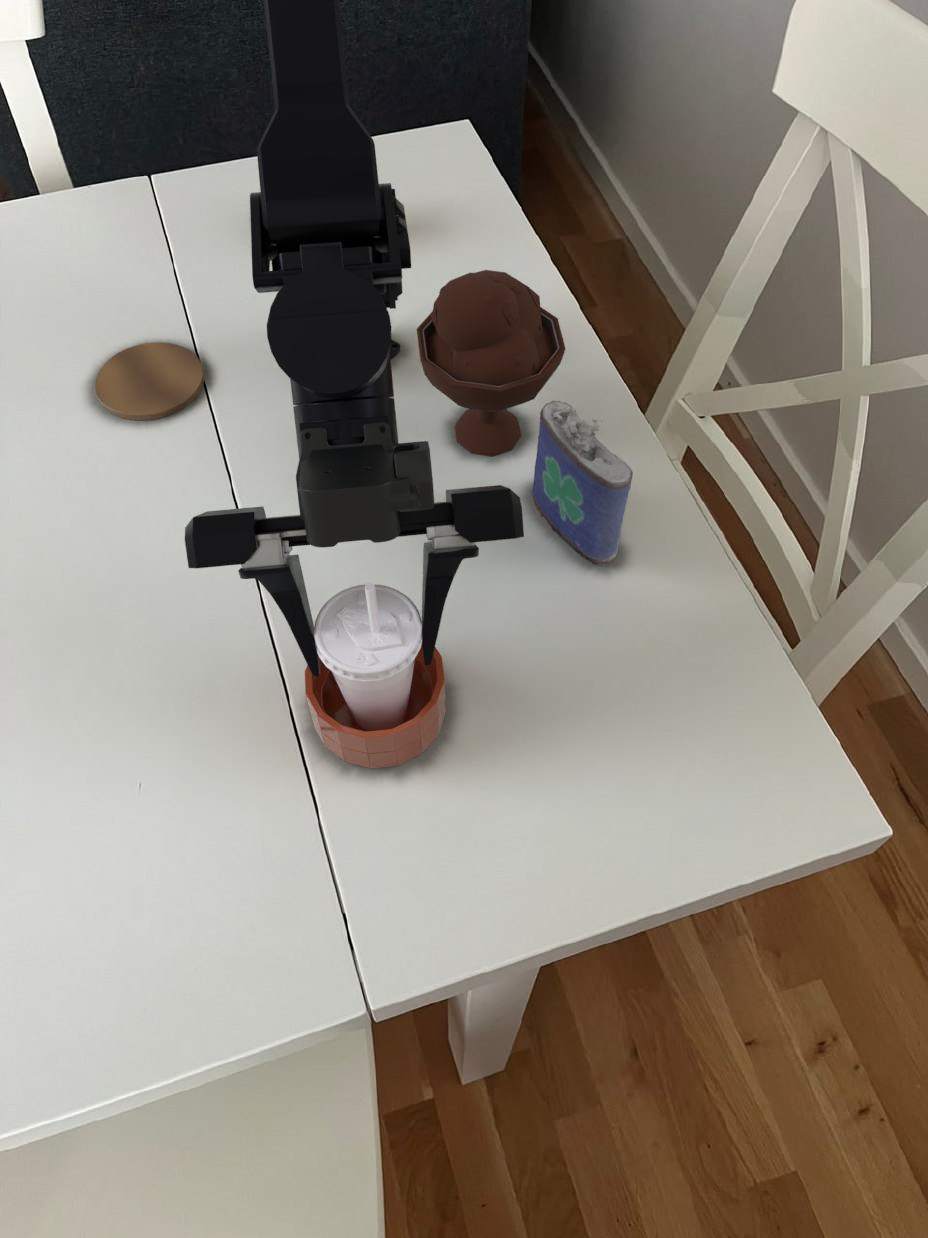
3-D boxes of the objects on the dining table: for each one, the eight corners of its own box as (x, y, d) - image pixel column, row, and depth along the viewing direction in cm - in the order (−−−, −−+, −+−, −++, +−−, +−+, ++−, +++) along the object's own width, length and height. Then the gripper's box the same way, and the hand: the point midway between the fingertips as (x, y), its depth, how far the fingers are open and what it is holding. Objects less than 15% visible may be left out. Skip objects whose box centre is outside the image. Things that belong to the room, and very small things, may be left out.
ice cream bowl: (545, 489, 77) (560, 334, 64) (406, 468, 78) (394, 312, 66) (565, 396, 82) (582, 237, 70) (435, 378, 84) (429, 219, 71)
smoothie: (392, 768, 63) (375, 650, 51) (311, 721, 65) (278, 597, 53) (446, 694, 66) (442, 567, 54) (367, 651, 68) (347, 519, 56)
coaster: (155, 333, 87) (153, 328, 87) (226, 376, 84) (225, 371, 83) (74, 389, 83) (71, 383, 83) (146, 436, 80) (144, 431, 79)
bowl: (373, 633, 69) (368, 596, 65) (471, 700, 66) (471, 665, 62) (286, 720, 65) (276, 685, 61) (386, 795, 62) (381, 763, 58)
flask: (623, 557, 73) (644, 455, 64) (591, 574, 72) (608, 473, 63) (551, 479, 77) (561, 373, 68) (520, 494, 76) (526, 389, 68)
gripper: (143, 412, 47) (187, 725, 50) (528, 380, 49) (549, 687, 51) (187, 417, 58) (221, 674, 61) (500, 391, 59) (519, 643, 62)
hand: (372, 669), depth 59 cm, fingers closed on smoothie, 6 cm apart
